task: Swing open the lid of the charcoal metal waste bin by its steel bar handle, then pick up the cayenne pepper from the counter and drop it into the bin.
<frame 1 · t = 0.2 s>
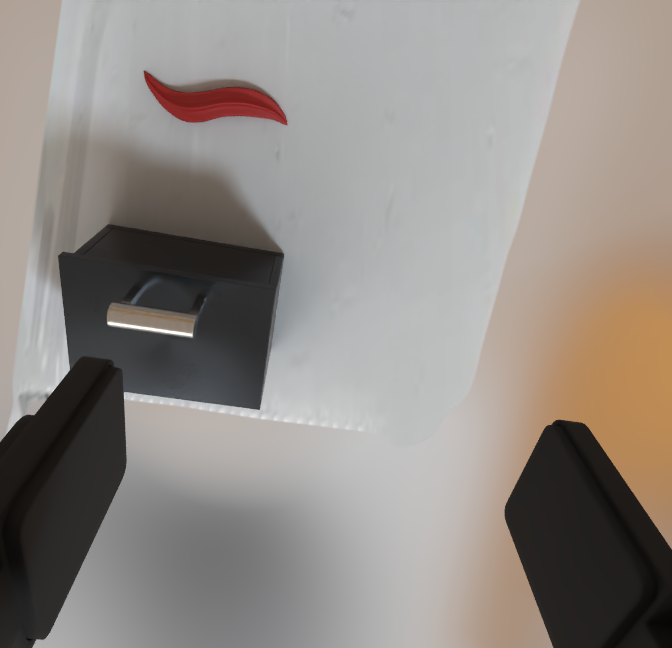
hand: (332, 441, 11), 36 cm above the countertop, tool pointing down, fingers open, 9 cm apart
bin lid: (161, 353, 39), point 12 cm above the countertop, hinge at 0.0°
bin: (195, 292, 49), on the countertop
cayenne pepper: (216, 103, 41), on the countertop
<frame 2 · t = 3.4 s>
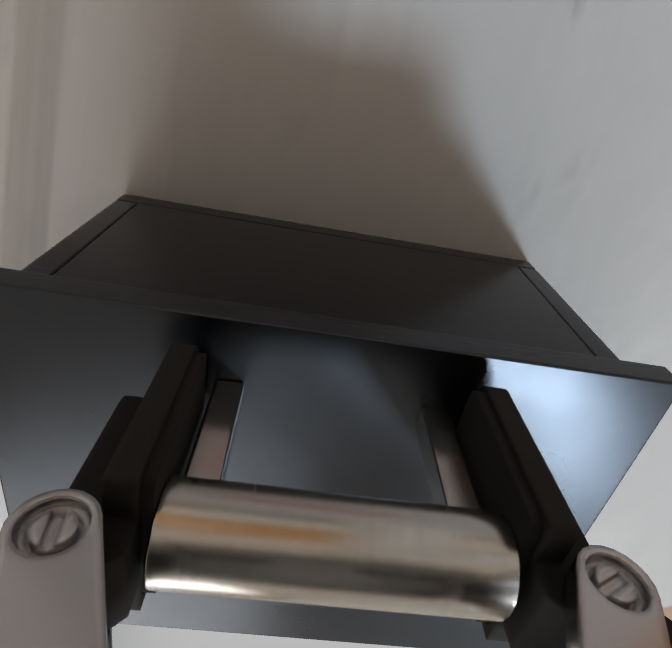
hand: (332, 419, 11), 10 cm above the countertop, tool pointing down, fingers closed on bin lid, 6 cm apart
bin lid: (304, 586, 12), point 12 cm above the countertop, hinge at 0.0°, touching gripper
bin: (313, 348, 23), on the countertop
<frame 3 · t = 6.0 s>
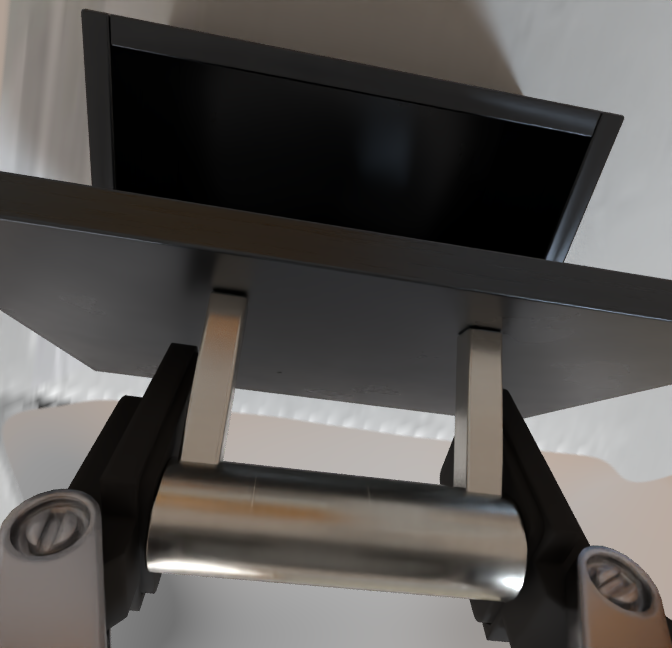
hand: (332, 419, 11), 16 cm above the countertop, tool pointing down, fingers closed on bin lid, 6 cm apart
bin lid: (322, 436, 13), point 15 cm above the countertop, hinge at 43.6°, touching gripper
bin: (331, 189, 25), on the countertop
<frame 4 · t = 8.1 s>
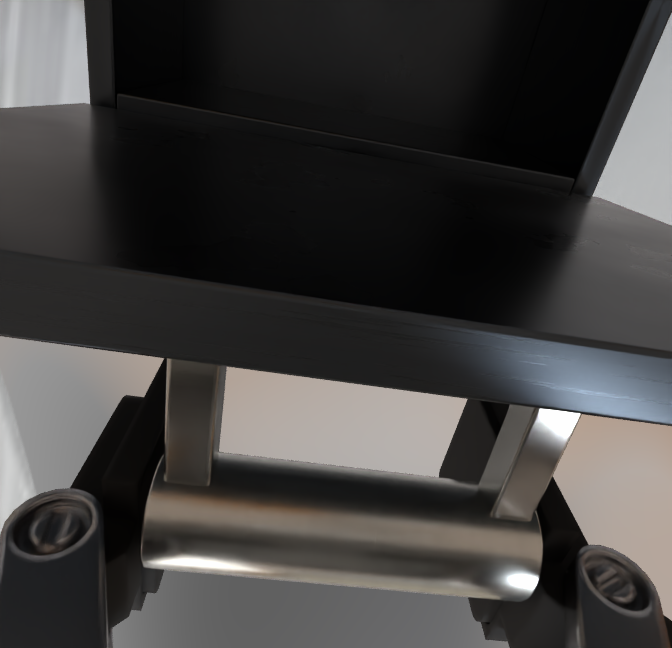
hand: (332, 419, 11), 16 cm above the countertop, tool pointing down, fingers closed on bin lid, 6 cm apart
bin lid: (350, 313, 11), point 16 cm above the countertop, hinge at 86.3°, touching gripper
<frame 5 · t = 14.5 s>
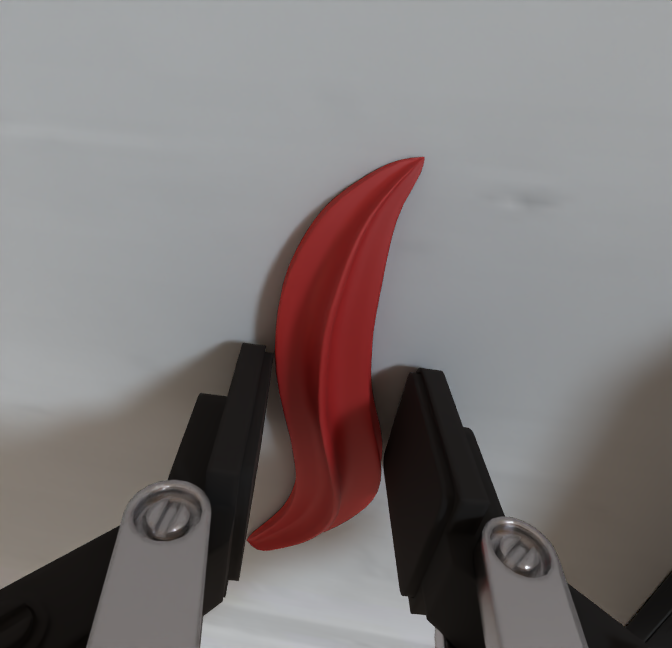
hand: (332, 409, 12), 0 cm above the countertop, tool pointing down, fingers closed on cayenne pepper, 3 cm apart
cayenne pepper: (330, 392, 12), on the countertop, touching gripper
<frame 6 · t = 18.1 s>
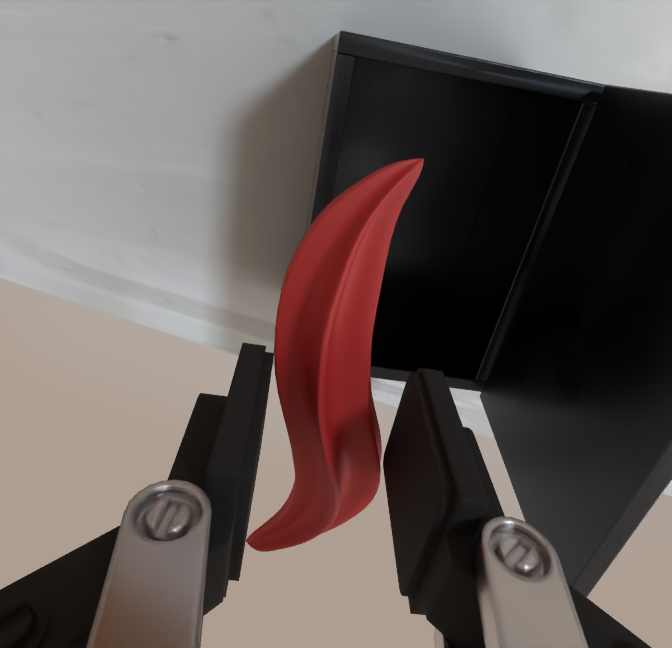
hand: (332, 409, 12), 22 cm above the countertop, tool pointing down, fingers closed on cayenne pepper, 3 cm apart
bin lid: (650, 339, 19), point 16 cm above the countertop, hinge at 86.9°
bin: (401, 197, 32), on the countertop
cayenne pepper: (329, 393, 12), point 22 cm above the countertop, touching gripper
when the fingers open (10 cm above the countertop, at t = 21.8 s): cayenne pepper drops 9 cm, resting on bin.
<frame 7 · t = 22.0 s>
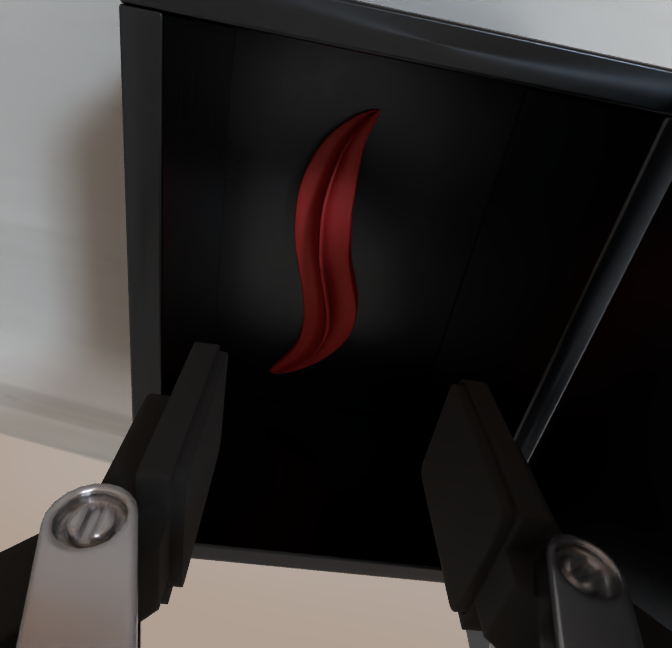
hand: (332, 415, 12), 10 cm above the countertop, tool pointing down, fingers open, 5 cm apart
bin: (343, 256, 21), on the countertop
cayenne pepper: (326, 260, 20), point 1 cm above the countertop, touching bin
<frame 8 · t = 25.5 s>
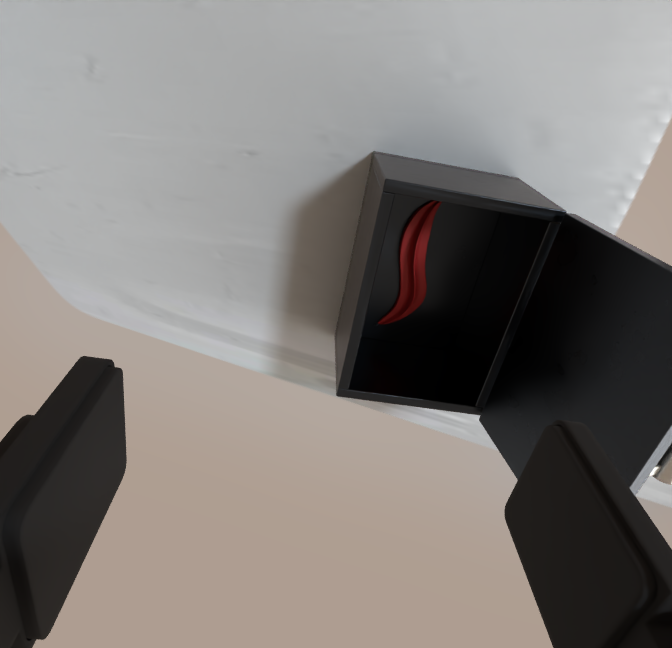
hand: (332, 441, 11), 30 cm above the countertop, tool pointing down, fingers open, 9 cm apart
bin lid: (608, 384, 29), point 15 cm above the countertop, hinge at 100.3°
bin: (419, 264, 41), on the countertop
cayenne pepper: (411, 265, 41), point 1 cm above the countertop, touching bin
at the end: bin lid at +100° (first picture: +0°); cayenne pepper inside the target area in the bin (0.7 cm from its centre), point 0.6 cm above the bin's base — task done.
